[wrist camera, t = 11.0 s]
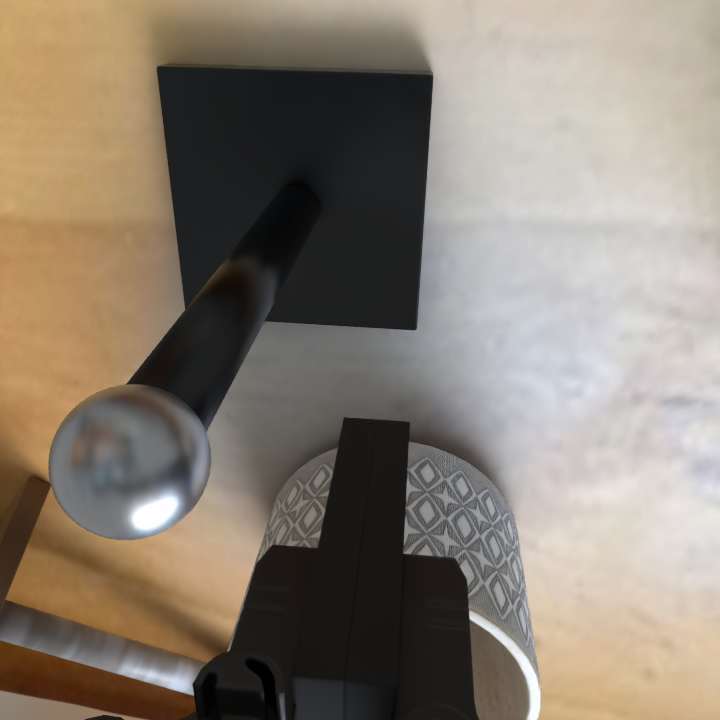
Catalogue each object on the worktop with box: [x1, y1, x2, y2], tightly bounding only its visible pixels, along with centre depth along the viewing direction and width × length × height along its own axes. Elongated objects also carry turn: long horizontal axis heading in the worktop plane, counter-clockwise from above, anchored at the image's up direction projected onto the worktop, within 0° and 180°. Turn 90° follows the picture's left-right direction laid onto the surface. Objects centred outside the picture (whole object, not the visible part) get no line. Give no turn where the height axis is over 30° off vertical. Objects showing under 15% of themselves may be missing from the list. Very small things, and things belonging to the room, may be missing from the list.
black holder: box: [49, 64, 433, 540], centre depth 26 cm, size 25×13×13 cm
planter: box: [227, 442, 541, 720], centre depth 40 cm, size 16×16×13 cm
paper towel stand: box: [0, 477, 207, 696], centre depth 47 cm, size 25×13×13 cm, turn 52°
